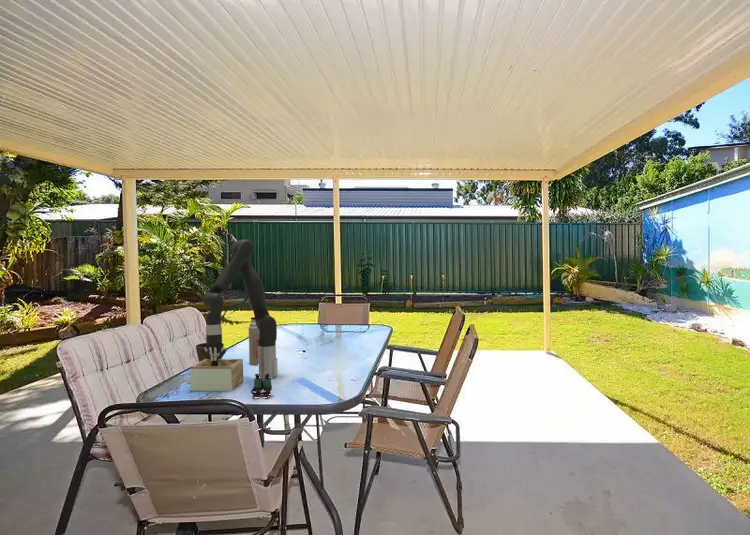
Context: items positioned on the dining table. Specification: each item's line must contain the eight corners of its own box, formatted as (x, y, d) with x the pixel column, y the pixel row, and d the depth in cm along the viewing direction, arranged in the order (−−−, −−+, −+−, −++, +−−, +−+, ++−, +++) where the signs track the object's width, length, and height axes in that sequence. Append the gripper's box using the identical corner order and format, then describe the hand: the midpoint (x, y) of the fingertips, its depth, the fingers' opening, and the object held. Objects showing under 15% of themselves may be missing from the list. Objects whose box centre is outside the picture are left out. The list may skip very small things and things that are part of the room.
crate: (243, 381, 262) (242, 359, 261) (232, 390, 246) (231, 366, 246) (206, 381, 263) (205, 359, 263) (192, 390, 248) (192, 366, 247)
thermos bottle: (263, 364, 299) (262, 318, 298) (249, 365, 297) (248, 318, 296) (262, 361, 307) (261, 316, 306) (249, 362, 305) (248, 316, 304)
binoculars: (249, 380, 228) (253, 372, 238) (250, 402, 230) (254, 393, 240) (269, 379, 229) (272, 371, 239) (270, 401, 230) (273, 393, 240)
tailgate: (232, 390, 246) (231, 366, 245) (231, 391, 244) (230, 367, 244) (192, 390, 247) (191, 366, 247) (191, 390, 246) (190, 366, 246)
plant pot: (214, 368, 292) (214, 341, 292) (230, 372, 283) (229, 344, 282) (191, 373, 281) (190, 345, 280) (206, 377, 271) (205, 348, 271)
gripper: (229, 331, 253) (230, 366, 254) (204, 331, 254) (205, 365, 255) (224, 334, 246) (225, 369, 246) (197, 334, 247) (198, 369, 248)
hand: (214, 367), depth 251 cm, fingers closed
